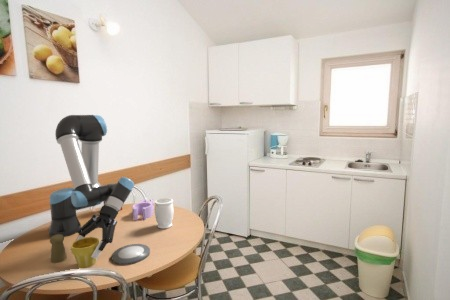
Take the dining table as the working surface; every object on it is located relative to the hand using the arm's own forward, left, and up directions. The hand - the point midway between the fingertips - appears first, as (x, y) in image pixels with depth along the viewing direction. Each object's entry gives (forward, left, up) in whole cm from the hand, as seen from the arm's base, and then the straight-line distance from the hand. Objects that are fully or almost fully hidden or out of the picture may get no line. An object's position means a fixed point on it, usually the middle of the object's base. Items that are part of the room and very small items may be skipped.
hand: (83, 254), depth 108 cm
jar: (+3, +48, -5) cm, 48 cm away
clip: (-23, +57, -6) cm, 62 cm away
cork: (-15, -1, -5) cm, 16 cm away
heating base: (+11, +16, -5) cm, 20 cm away
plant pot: (0, +2, -5) cm, 6 cm away
